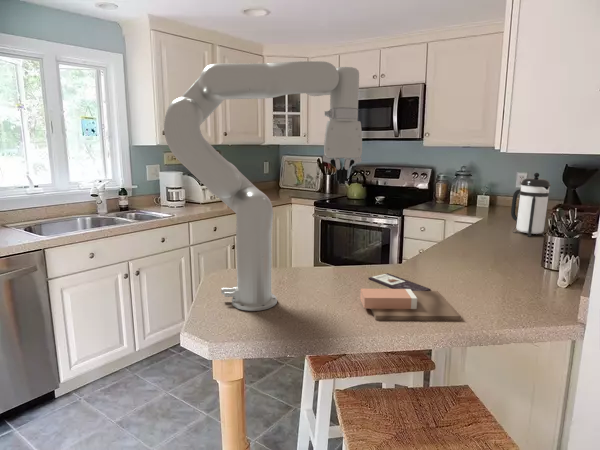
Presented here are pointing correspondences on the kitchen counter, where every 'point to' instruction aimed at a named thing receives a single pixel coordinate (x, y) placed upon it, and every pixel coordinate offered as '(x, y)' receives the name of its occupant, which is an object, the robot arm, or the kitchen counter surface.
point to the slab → (388, 299)
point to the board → (421, 309)
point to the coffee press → (531, 205)
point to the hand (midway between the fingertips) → (341, 183)
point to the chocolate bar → (397, 282)
